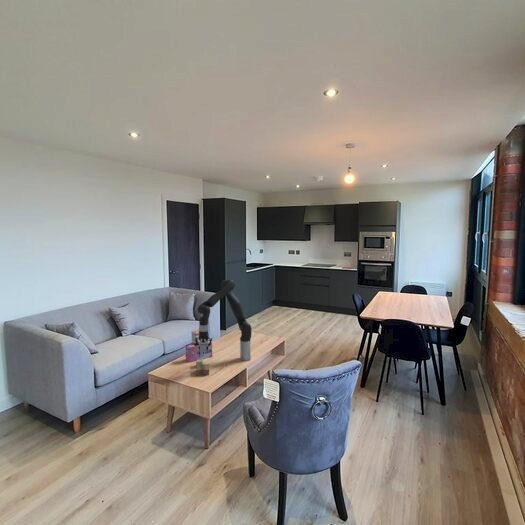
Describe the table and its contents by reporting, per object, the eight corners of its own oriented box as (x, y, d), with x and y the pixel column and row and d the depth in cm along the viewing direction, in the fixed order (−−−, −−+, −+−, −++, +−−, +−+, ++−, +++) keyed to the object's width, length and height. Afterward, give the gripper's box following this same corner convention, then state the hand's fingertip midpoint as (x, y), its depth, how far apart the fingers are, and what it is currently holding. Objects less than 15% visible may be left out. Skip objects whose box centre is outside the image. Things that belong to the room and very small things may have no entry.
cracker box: (203, 348, 309) (202, 327, 307) (207, 350, 305) (207, 328, 303) (191, 353, 298) (191, 331, 296) (196, 354, 295) (195, 332, 292)
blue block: (207, 350, 260) (207, 342, 260) (206, 352, 255) (206, 345, 255) (201, 349, 260) (201, 342, 260) (199, 352, 255) (199, 344, 255)
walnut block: (209, 369, 264) (209, 364, 263) (209, 375, 254) (208, 369, 254) (196, 370, 262) (196, 364, 262) (196, 376, 253) (196, 370, 252)
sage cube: (202, 364, 273) (202, 359, 273) (202, 367, 268) (202, 361, 268) (196, 365, 272) (196, 359, 271) (196, 367, 267) (196, 362, 266)
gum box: (210, 353, 297) (210, 339, 296) (214, 356, 291) (213, 342, 289) (185, 359, 284) (185, 344, 282) (188, 362, 277) (188, 347, 276)
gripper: (213, 328, 260) (213, 348, 261) (195, 328, 260) (195, 348, 261) (211, 331, 252) (211, 352, 254) (193, 331, 252) (193, 351, 254)
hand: (203, 350), depth 258 cm, fingers closed on blue block, 5 cm apart
